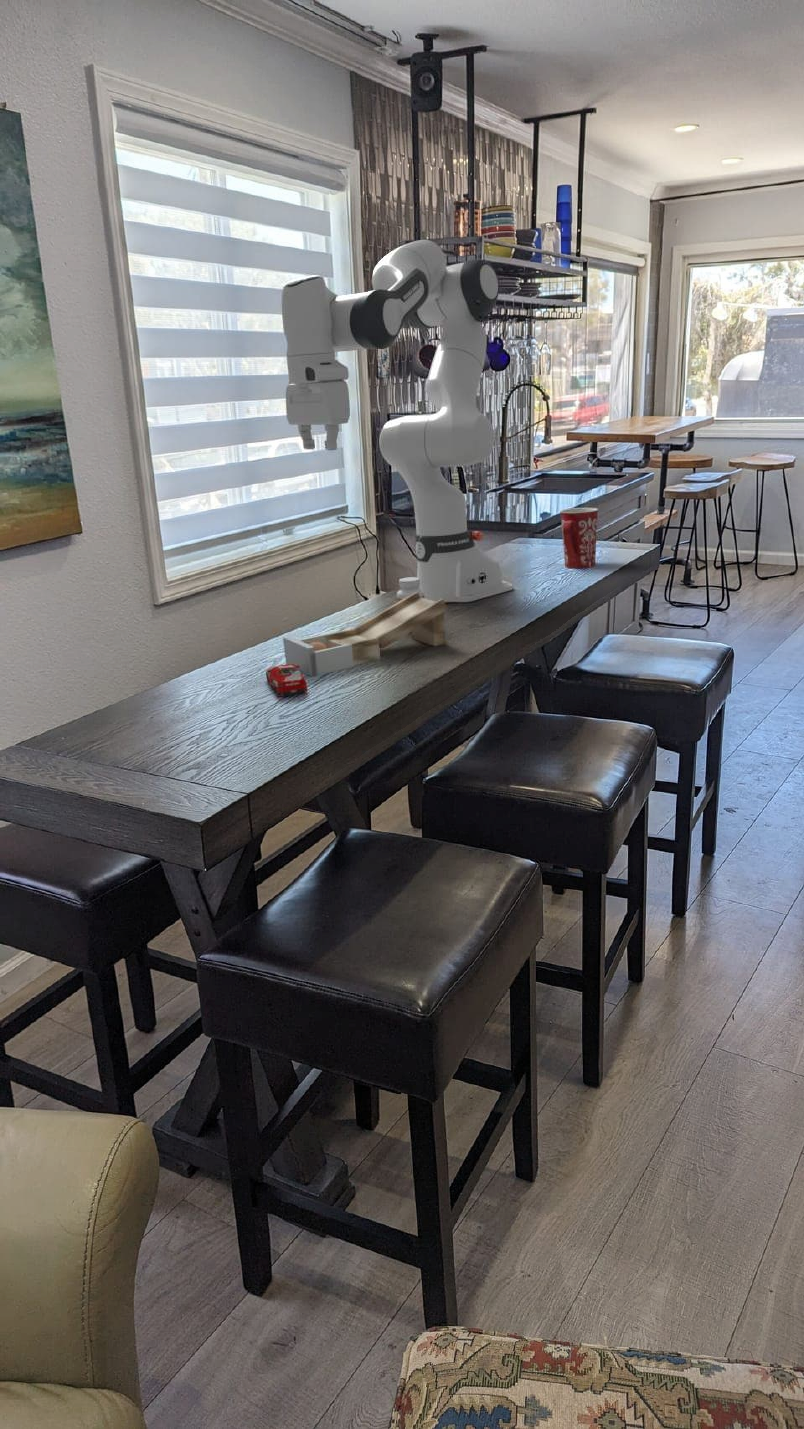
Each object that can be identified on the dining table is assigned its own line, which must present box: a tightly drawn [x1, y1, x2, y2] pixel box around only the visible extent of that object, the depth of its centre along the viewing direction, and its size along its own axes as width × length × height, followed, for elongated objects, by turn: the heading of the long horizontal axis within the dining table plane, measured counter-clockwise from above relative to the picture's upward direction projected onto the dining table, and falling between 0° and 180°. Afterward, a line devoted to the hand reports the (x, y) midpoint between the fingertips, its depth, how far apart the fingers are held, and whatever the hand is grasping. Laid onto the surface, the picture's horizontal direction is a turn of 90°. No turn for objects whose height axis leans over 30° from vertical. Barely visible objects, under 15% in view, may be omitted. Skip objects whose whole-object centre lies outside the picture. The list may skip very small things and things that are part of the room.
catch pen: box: [282, 633, 355, 678], centre depth 172 cm, size 8×10×5 cm
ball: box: [309, 642, 327, 651], centre depth 172 cm, size 4×4×4 cm
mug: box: [559, 507, 599, 569], centre depth 237 cm, size 13×9×14 cm
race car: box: [265, 664, 308, 697], centre depth 162 cm, size 13×5×4 cm, turn 16°
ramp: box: [325, 592, 448, 666], centre depth 178 cm, size 20×10×8 cm, turn 120°
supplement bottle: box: [396, 576, 425, 603], centre depth 192 cm, size 5×5×10 cm
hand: (320, 449), depth 185 cm, fingers open, 8 cm apart
